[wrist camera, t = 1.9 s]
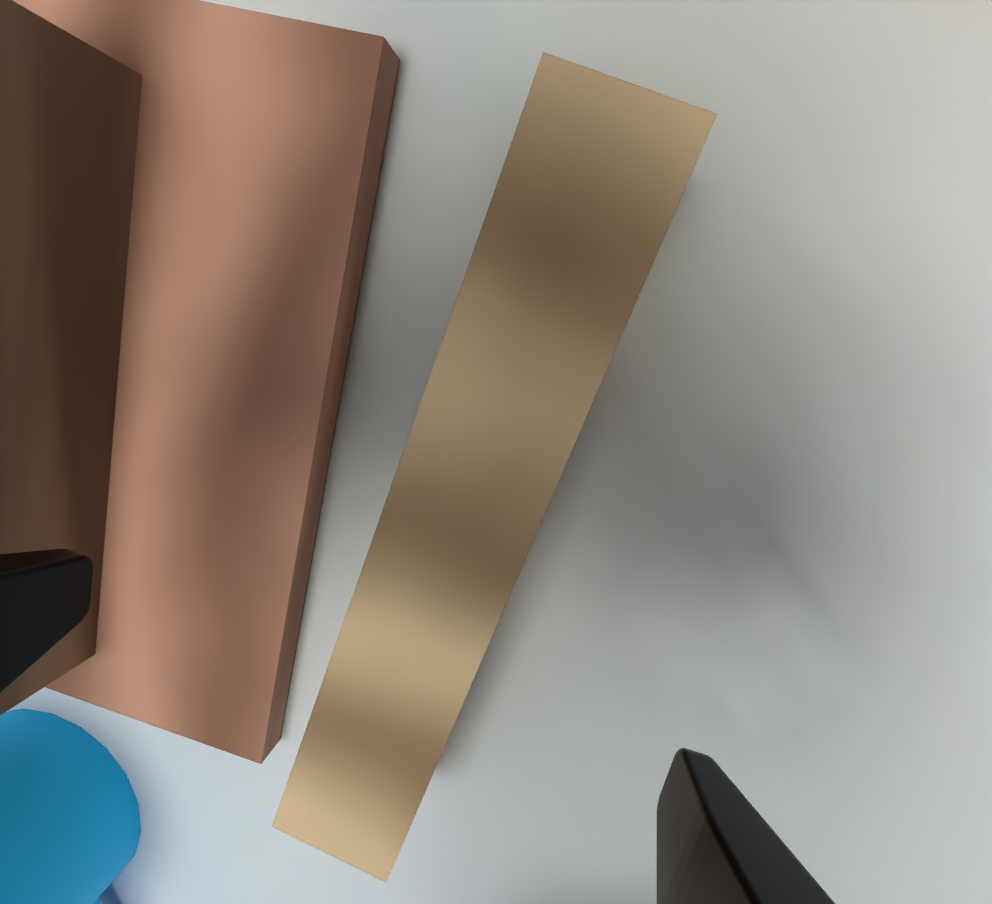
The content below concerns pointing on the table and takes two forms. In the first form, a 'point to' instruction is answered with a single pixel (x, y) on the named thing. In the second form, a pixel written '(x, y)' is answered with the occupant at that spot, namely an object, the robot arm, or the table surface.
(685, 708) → the table surface
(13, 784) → the mug
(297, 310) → the fulcrum stand
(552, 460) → the oak bar
